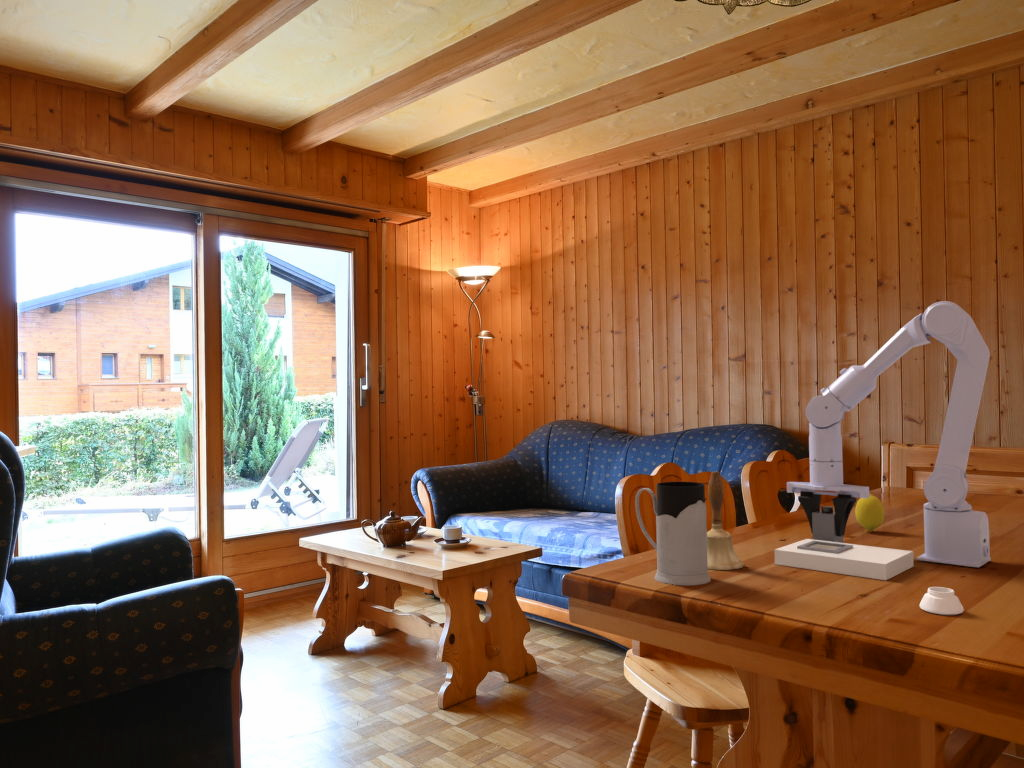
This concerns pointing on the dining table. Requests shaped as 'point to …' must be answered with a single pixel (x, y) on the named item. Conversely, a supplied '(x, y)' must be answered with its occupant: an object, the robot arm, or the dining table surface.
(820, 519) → the plug
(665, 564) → the glass holder
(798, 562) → the socket board
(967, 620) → the dining table surface
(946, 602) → the white upside-down bowl
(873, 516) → the lemon
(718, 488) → the hand bell
